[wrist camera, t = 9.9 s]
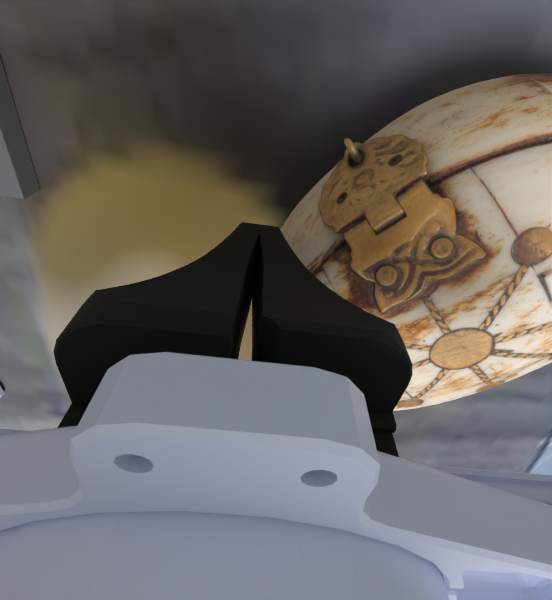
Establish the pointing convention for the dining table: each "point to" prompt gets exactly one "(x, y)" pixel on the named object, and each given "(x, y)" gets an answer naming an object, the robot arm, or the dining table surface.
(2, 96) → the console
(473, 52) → the dining table surface
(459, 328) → the trinket box
